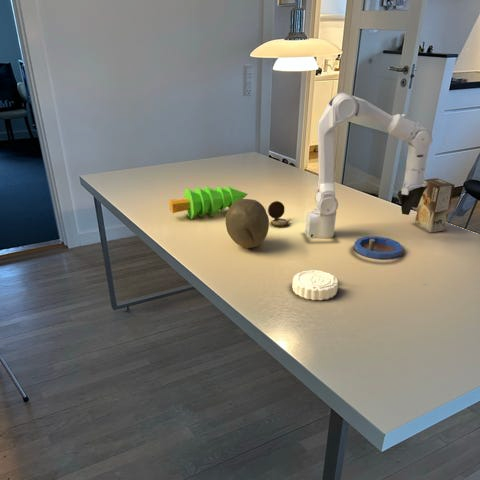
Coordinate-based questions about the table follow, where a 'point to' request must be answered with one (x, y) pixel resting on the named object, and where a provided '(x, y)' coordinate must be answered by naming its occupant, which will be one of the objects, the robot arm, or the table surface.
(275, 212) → the compass
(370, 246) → the platform
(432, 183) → the coffee box
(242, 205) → the brown coconut
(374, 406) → the table surface
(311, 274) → the mooncake
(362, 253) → the ring
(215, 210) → the decorative tree
